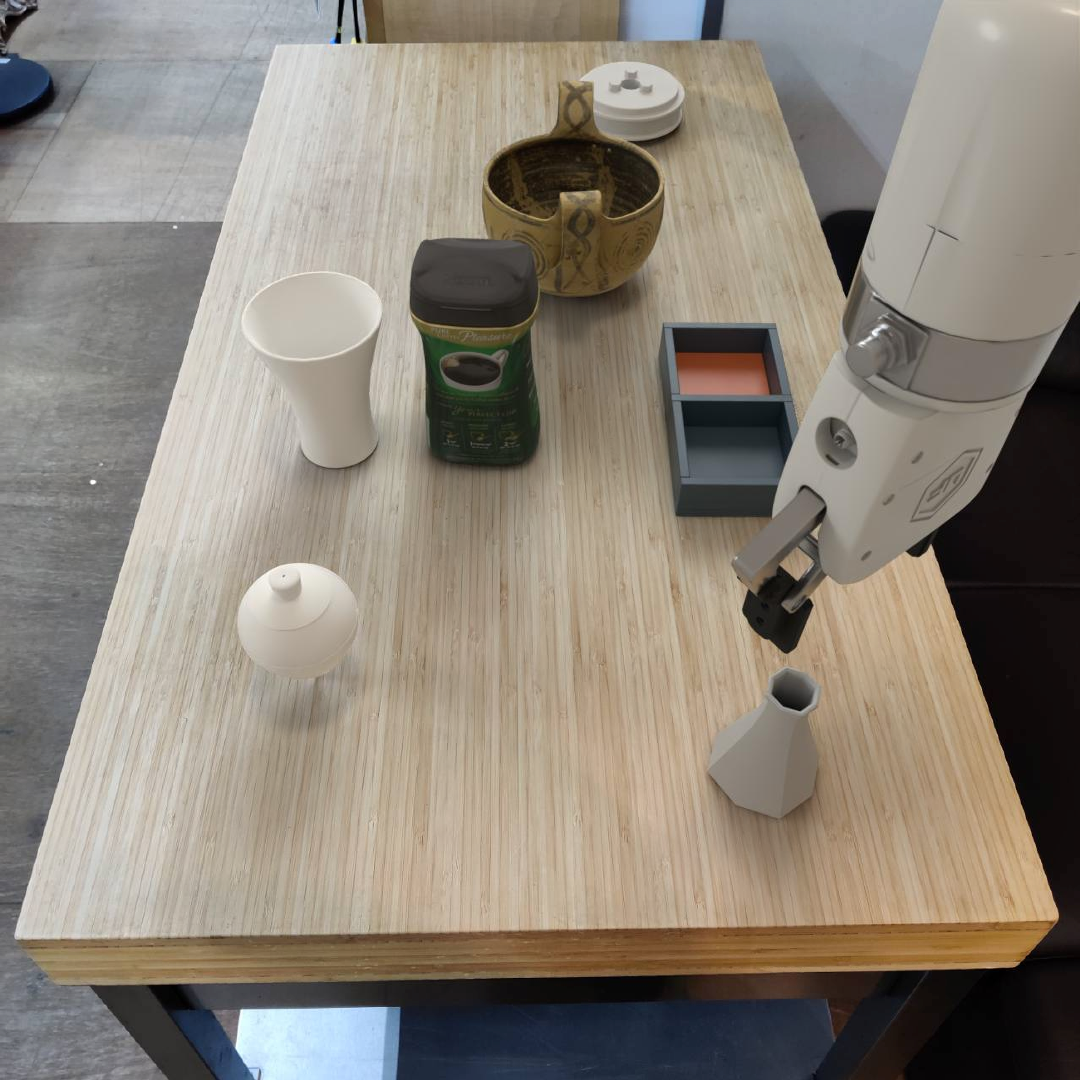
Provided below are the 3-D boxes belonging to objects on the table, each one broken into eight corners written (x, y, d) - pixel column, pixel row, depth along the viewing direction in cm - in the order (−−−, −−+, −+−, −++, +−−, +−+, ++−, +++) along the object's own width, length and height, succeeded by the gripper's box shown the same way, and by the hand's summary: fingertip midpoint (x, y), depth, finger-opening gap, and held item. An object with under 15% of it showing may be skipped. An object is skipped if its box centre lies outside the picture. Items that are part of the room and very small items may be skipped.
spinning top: (370, 624, 72) (345, 521, 63) (374, 717, 67) (348, 620, 58) (264, 636, 71) (223, 534, 62) (261, 731, 67) (215, 635, 57)
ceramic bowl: (663, 349, 91) (682, 206, 79) (480, 348, 91) (472, 204, 79) (648, 210, 105) (662, 71, 93) (489, 209, 105) (483, 69, 93)
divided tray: (801, 517, 79) (812, 485, 76) (675, 516, 79) (681, 484, 76) (767, 355, 91) (775, 322, 88) (658, 354, 91) (662, 321, 88)
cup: (378, 497, 80) (354, 371, 69) (257, 474, 81) (216, 348, 71) (417, 409, 86) (401, 281, 75) (305, 389, 88) (274, 261, 77)
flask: (784, 839, 62) (821, 771, 54) (687, 775, 65) (708, 700, 57) (836, 756, 66) (877, 680, 58) (742, 698, 68) (769, 618, 61)
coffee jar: (543, 407, 86) (545, 223, 72) (536, 474, 81) (536, 291, 67) (434, 401, 87) (414, 216, 72) (420, 467, 82) (395, 283, 67)
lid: (681, 151, 112) (687, 109, 108) (571, 146, 113) (572, 103, 109) (680, 95, 120) (685, 54, 116) (577, 91, 121) (578, 50, 117)
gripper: (873, 478, 32) (768, 728, 45) (1168, 281, 38) (1000, 550, 52) (711, 353, 35) (659, 619, 49) (1006, 193, 42) (888, 465, 55)
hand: (834, 583), depth 50 cm, fingers open, 9 cm apart
